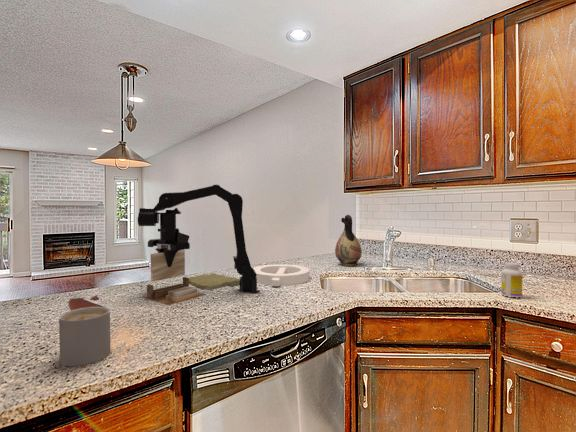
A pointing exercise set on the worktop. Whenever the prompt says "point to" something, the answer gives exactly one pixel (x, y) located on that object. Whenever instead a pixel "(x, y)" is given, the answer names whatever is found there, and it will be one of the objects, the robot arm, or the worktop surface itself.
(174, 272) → the birch sheet
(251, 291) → the robot arm
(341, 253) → the ceramic jug
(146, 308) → the worktop surface
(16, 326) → the worktop surface
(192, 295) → the oak offcut
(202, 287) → the decorative tile
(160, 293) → the walnut rack
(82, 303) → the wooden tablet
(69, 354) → the coffee mug
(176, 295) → the grey offcut
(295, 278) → the ring with crossbar
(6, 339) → the worktop surface
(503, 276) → the supplement bottle
